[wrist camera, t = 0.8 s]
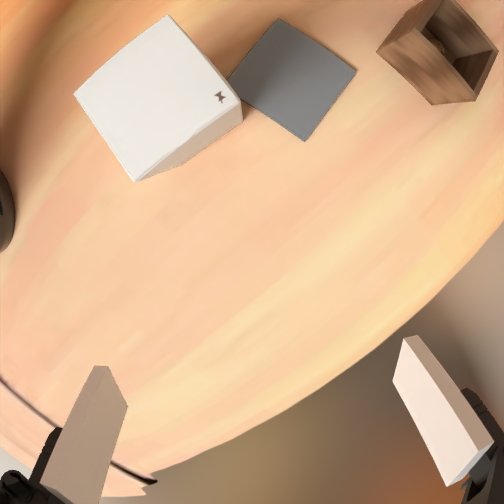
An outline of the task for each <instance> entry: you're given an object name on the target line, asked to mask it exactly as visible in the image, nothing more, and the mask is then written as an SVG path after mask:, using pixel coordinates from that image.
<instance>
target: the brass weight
mask: <svg viewBox="0 0 504 504" xmlns="http://www.w3.org/2000/svg"><path fill="white" fill-rule="evenodd" d="M428 41H429V42H430V43H431V44H432V45H433V46H434V47H435V48H436V49H437V50H438V51H439V52H440V53H441V54H442V55H443V56H444V57H445V56H446V53H445V49H444V47H443V45H442V44H441V43H440V42H439V41H437V40H435V39H429V40H428Z"/></svg>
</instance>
